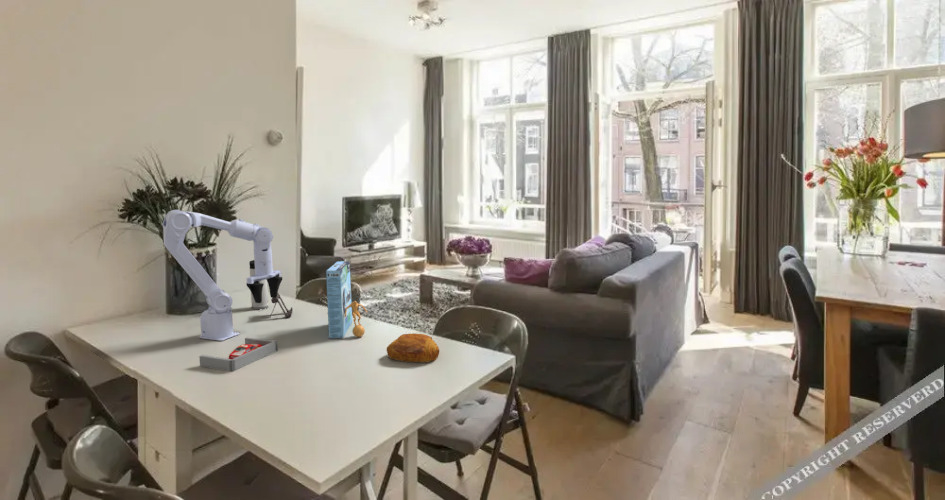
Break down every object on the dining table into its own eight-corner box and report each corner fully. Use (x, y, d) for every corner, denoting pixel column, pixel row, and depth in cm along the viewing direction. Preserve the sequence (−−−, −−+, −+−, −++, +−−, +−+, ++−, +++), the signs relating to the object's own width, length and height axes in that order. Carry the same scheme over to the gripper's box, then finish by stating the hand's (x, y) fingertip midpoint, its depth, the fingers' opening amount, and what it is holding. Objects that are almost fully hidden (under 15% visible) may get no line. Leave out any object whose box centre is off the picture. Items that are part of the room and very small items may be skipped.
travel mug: (272, 306, 207) (270, 258, 205) (260, 310, 201) (258, 261, 199) (260, 305, 210) (257, 257, 207) (248, 309, 203) (245, 260, 201)
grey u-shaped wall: (200, 366, 141) (199, 356, 141) (247, 346, 158) (247, 337, 158) (232, 371, 138) (231, 360, 137) (277, 350, 154) (277, 341, 154)
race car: (249, 350, 156) (248, 337, 155) (266, 350, 155) (265, 338, 155) (224, 365, 143) (223, 351, 142) (242, 366, 142) (242, 352, 142)
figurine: (349, 340, 164) (348, 304, 163) (341, 336, 169) (340, 301, 167) (372, 335, 170) (371, 301, 168) (364, 331, 174) (363, 297, 173)
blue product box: (343, 338, 167) (341, 270, 163) (327, 339, 166) (325, 270, 163) (352, 322, 186) (350, 260, 183) (338, 322, 185) (336, 261, 182)
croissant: (428, 374, 142) (431, 348, 140) (379, 361, 146) (381, 335, 145) (446, 356, 156) (449, 332, 154) (401, 344, 160) (403, 320, 158)
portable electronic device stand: (291, 318, 191) (290, 296, 189) (268, 319, 188) (267, 298, 187) (292, 312, 199) (291, 291, 198) (271, 313, 197) (270, 292, 196)
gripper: (257, 265, 165) (260, 305, 167) (287, 258, 179) (289, 295, 181) (240, 264, 167) (243, 304, 169) (270, 257, 181) (273, 294, 183)
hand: (266, 299), depth 175 cm, fingers open, 7 cm apart
